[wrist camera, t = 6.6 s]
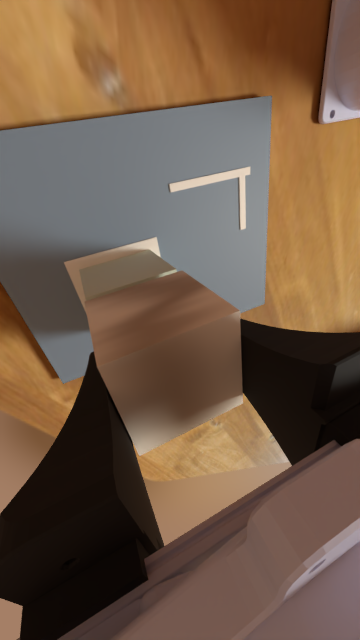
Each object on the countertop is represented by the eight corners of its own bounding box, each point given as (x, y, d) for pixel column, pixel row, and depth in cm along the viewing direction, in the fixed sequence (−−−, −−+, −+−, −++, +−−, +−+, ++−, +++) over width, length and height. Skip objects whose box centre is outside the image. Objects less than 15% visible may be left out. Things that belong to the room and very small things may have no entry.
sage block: (149, 249, 17) (176, 269, 13) (163, 308, 20) (189, 339, 16) (79, 269, 16) (85, 298, 12) (103, 330, 19) (115, 369, 15)
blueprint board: (263, 99, 17) (272, 95, 16) (259, 300, 25) (265, 304, 25) (-78, 144, 12) (-88, 141, 11) (63, 377, 20) (63, 384, 20)
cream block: (182, 270, 12) (239, 310, 8) (194, 345, 15) (242, 403, 11) (84, 301, 11) (96, 366, 7) (116, 377, 14) (139, 456, 10)
